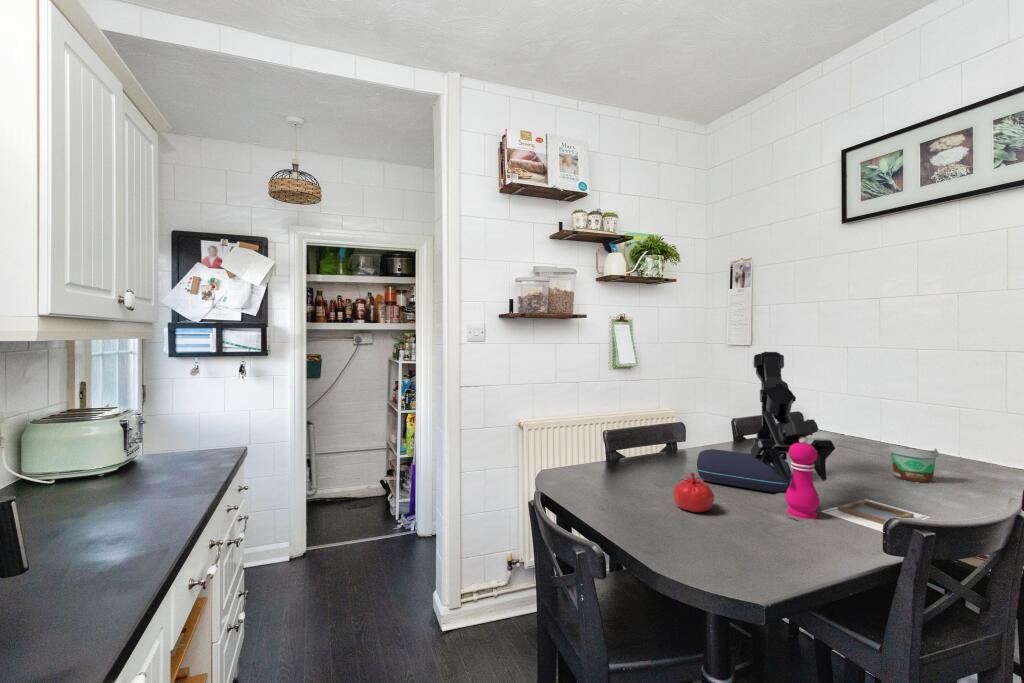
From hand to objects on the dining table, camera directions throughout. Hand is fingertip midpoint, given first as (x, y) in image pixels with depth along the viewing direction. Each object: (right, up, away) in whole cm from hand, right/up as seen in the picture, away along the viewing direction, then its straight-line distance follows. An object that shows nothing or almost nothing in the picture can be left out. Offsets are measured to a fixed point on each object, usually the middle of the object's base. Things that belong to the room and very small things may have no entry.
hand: (805, 480), depth 116 cm
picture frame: (+18, -10, +1) cm, 20 cm away
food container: (+53, -9, +31) cm, 62 cm away
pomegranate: (-24, -10, +8) cm, 27 cm away
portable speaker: (-3, -10, +26) cm, 28 cm away
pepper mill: (0, -10, +1) cm, 10 cm away
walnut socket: (+18, -9, +1) cm, 20 cm away
